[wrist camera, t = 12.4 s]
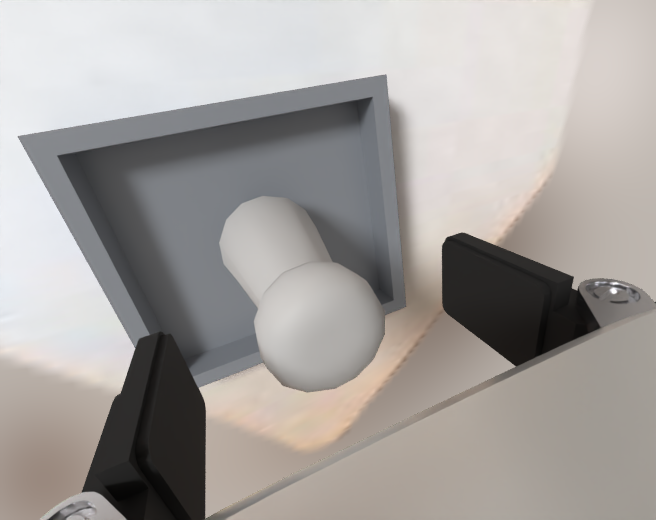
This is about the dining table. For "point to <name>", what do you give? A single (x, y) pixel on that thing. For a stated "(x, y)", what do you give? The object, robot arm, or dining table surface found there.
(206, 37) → the dining table surface
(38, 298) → the dining table surface
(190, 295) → the tray
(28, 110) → the dining table surface
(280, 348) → the salt shaker
